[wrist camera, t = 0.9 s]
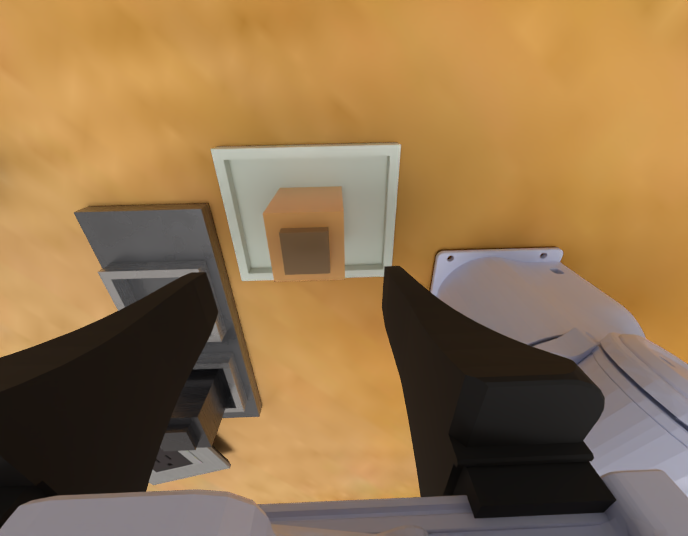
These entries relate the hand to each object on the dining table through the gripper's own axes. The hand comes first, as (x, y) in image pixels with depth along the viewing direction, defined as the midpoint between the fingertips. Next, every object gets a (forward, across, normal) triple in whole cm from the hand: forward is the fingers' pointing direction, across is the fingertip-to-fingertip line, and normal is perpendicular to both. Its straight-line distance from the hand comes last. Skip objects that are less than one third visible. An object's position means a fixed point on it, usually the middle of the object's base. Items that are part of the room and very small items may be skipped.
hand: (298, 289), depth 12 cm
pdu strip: (+9, +11, +10) cm, 17 cm away
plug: (+9, 0, 0) cm, 9 cm away
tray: (+9, 0, 0) cm, 9 cm away
